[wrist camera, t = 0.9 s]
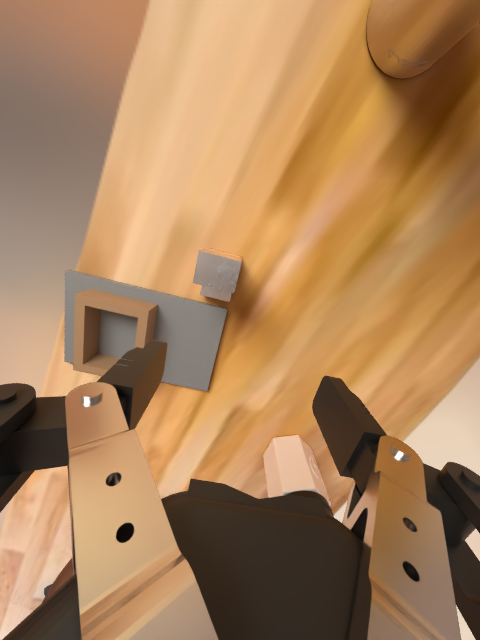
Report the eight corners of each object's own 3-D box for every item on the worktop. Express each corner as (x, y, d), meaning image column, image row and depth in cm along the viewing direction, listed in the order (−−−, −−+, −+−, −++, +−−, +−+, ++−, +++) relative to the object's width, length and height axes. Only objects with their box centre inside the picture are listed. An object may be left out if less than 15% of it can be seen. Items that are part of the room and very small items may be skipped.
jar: (318, 455, 42) (349, 535, 30) (282, 475, 43) (299, 557, 32) (292, 425, 39) (314, 499, 28) (255, 447, 41) (261, 526, 29)
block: (211, 248, 30) (199, 250, 20) (240, 256, 30) (242, 261, 20) (202, 291, 31) (187, 312, 22) (230, 298, 32) (226, 321, 22)
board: (69, 269, 30) (43, 273, 26) (227, 308, 32) (226, 317, 28) (68, 359, 35) (46, 374, 31) (207, 388, 37) (204, 405, 33)
